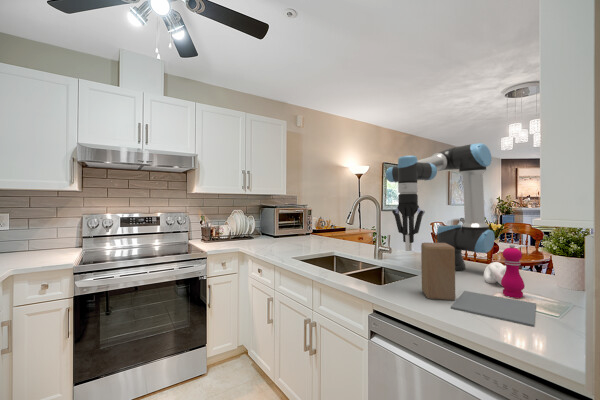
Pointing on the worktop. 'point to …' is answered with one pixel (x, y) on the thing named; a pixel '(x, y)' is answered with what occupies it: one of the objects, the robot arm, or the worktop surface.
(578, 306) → the worktop surface
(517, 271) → the pepper mill
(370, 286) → the worktop surface
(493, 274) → the white decorative knot
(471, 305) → the mat
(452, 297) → the block
